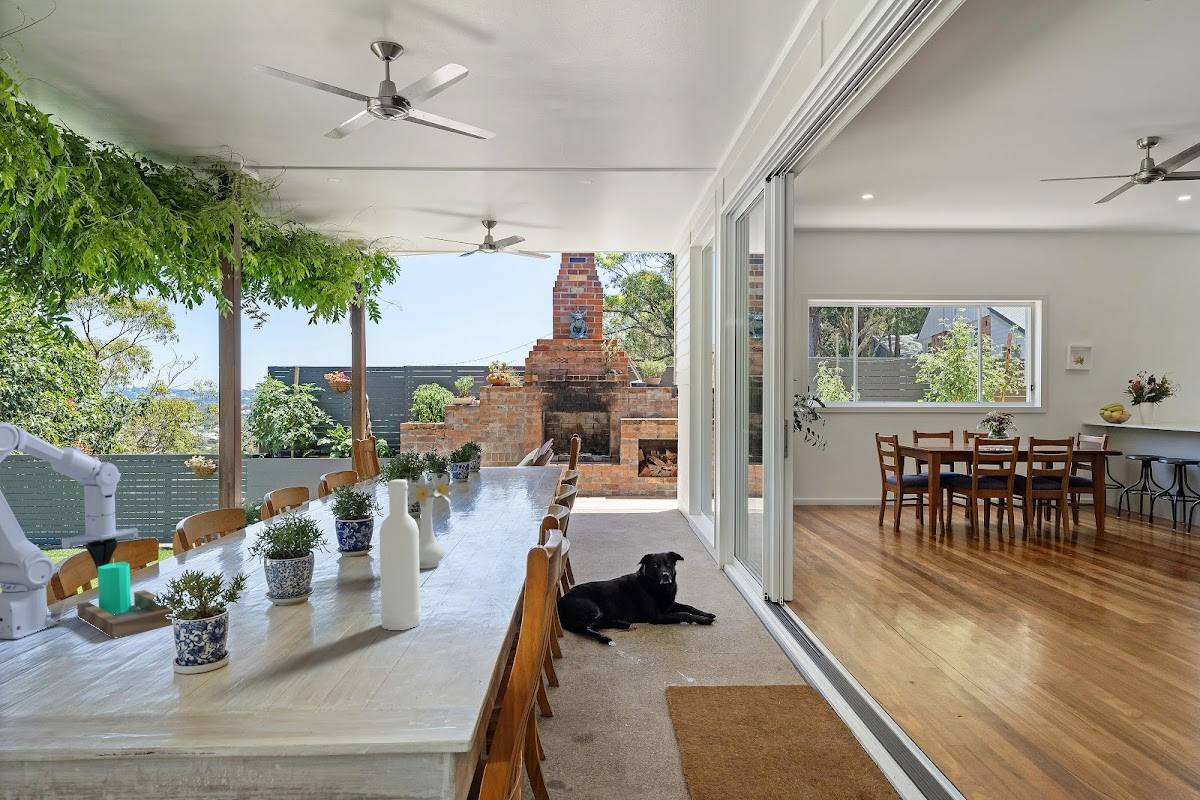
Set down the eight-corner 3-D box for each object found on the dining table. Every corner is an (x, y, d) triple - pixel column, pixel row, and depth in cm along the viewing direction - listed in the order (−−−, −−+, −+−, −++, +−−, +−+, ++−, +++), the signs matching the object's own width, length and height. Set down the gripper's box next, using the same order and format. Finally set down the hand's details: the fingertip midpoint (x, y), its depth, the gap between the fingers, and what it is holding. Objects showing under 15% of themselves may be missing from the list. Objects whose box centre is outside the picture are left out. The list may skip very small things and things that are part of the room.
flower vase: (397, 560, 205) (395, 472, 205) (463, 560, 205) (461, 471, 204) (383, 573, 192) (381, 478, 192) (453, 572, 192) (451, 477, 191)
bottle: (410, 632, 146) (406, 483, 146) (374, 630, 148) (370, 482, 147) (427, 619, 154) (424, 477, 153) (393, 617, 156) (389, 477, 155)
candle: (105, 617, 159) (103, 563, 158) (94, 612, 162) (92, 559, 162) (135, 610, 163) (133, 557, 163) (124, 606, 167) (123, 553, 167)
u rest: (77, 617, 159) (77, 604, 159) (144, 602, 169) (143, 590, 169) (113, 639, 145) (113, 624, 145) (183, 621, 155) (183, 607, 155)
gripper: (67, 521, 159) (70, 583, 159) (142, 511, 170) (144, 569, 170) (57, 518, 163) (60, 578, 164) (131, 508, 175) (132, 565, 175)
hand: (102, 573), depth 167 cm, fingers closed
